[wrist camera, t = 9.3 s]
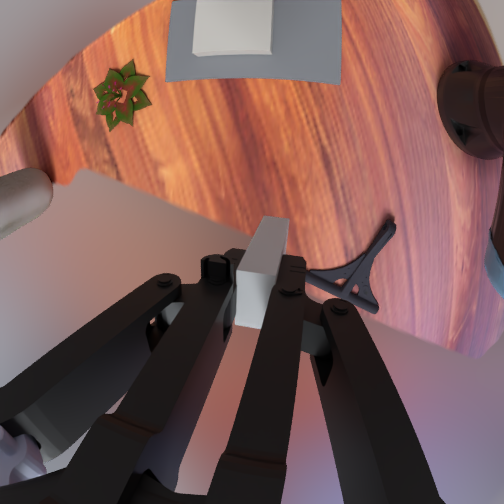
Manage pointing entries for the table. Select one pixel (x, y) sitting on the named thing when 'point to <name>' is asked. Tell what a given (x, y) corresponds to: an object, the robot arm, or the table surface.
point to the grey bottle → (23, 198)
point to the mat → (283, 49)
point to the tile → (233, 27)
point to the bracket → (354, 274)
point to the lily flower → (111, 86)
